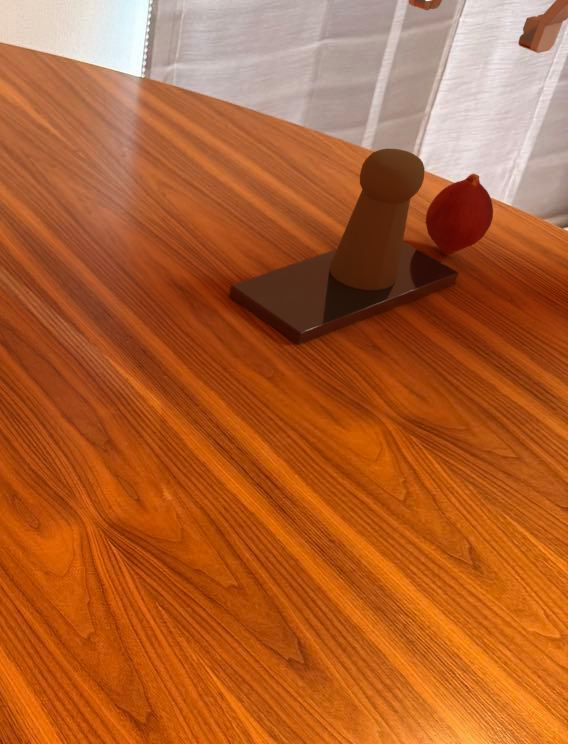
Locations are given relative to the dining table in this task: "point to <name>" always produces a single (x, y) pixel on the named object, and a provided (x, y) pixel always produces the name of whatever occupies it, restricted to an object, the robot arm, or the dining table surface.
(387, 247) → the pepper mill
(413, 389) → the dining table surface
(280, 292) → the slate strip
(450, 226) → the onion
